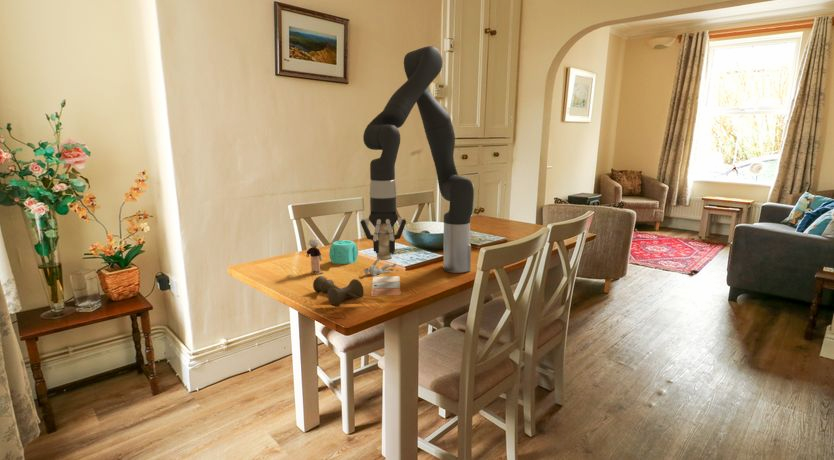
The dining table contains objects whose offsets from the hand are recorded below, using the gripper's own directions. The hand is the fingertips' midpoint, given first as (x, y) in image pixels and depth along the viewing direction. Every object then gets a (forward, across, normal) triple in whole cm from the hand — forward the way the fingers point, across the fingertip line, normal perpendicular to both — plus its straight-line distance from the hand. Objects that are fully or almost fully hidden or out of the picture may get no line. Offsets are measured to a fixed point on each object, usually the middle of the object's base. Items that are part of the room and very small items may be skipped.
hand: (384, 252), depth 133 cm
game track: (+13, 0, -6) cm, 15 cm away
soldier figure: (+14, +1, -19) cm, 23 cm away
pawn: (+2, 0, 0) cm, 2 cm away
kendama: (+14, +14, +2) cm, 20 cm away
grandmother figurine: (+14, +25, -24) cm, 37 cm away
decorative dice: (+14, +16, -35) cm, 41 cm away
